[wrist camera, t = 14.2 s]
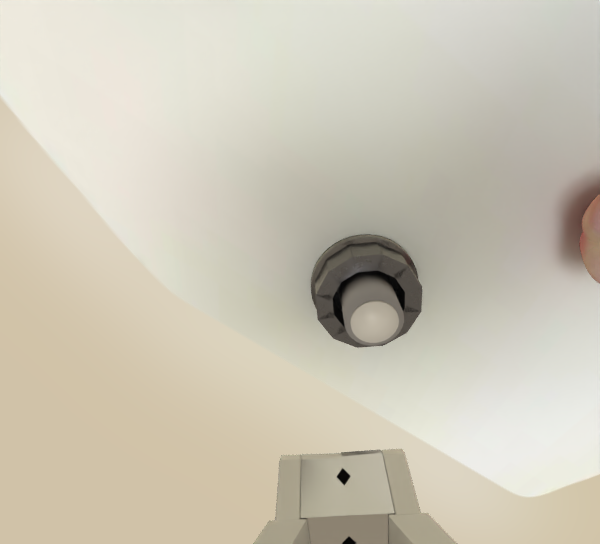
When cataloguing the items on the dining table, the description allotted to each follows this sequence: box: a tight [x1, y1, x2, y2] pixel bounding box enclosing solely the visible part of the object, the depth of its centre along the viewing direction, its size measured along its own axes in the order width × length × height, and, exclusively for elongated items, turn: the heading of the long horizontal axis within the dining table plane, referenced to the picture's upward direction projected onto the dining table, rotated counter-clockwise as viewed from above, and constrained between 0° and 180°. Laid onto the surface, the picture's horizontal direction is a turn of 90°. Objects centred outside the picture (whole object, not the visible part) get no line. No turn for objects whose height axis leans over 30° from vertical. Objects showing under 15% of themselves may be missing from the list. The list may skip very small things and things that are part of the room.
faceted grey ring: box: [311, 235, 422, 347], centre depth 38 cm, size 10×10×4 cm
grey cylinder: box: [339, 270, 404, 346], centre depth 37 cm, size 5×5×6 cm
